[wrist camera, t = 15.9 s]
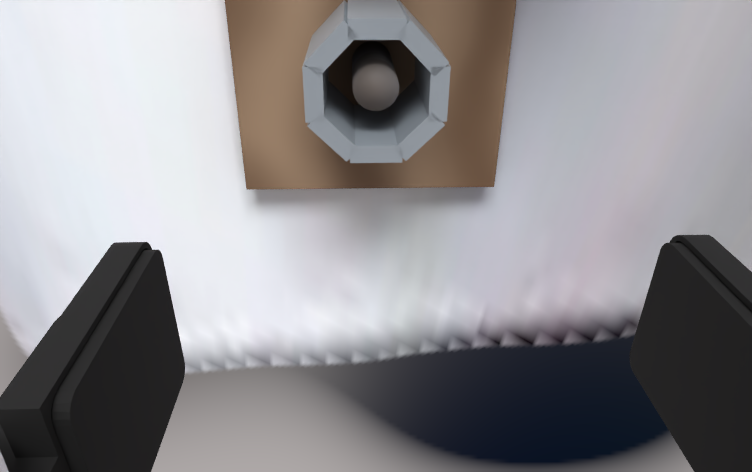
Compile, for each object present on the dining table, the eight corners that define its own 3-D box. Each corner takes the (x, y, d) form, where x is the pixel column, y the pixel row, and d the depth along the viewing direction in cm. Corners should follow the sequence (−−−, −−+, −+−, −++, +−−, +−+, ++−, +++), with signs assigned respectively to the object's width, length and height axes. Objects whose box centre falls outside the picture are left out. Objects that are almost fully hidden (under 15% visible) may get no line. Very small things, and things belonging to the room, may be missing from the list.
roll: (433, -2, 27) (454, 18, 22) (427, 119, 30) (444, 161, 25) (308, -2, 27) (299, 18, 22) (314, 120, 30) (307, 163, 25)
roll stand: (519, -98, 27) (564, -100, 21) (488, 176, 34) (516, 229, 28) (219, -100, 26) (184, -104, 21) (250, 178, 33) (230, 232, 28)
